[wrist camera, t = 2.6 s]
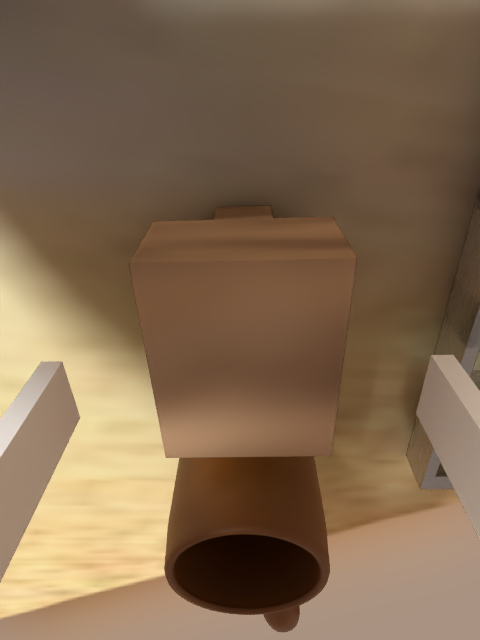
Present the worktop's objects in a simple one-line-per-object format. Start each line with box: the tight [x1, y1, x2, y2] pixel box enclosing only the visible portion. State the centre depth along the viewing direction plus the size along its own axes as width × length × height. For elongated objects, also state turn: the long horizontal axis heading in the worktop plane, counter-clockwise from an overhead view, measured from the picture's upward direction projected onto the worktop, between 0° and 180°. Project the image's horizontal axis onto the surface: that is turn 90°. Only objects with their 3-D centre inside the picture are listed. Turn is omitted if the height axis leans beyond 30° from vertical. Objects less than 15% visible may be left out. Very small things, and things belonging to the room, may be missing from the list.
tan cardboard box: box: [129, 206, 357, 458], centre depth 18 cm, size 9×7×7 cm
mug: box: [164, 456, 330, 632], centre depth 23 cm, size 12×8×9 cm, turn 18°
